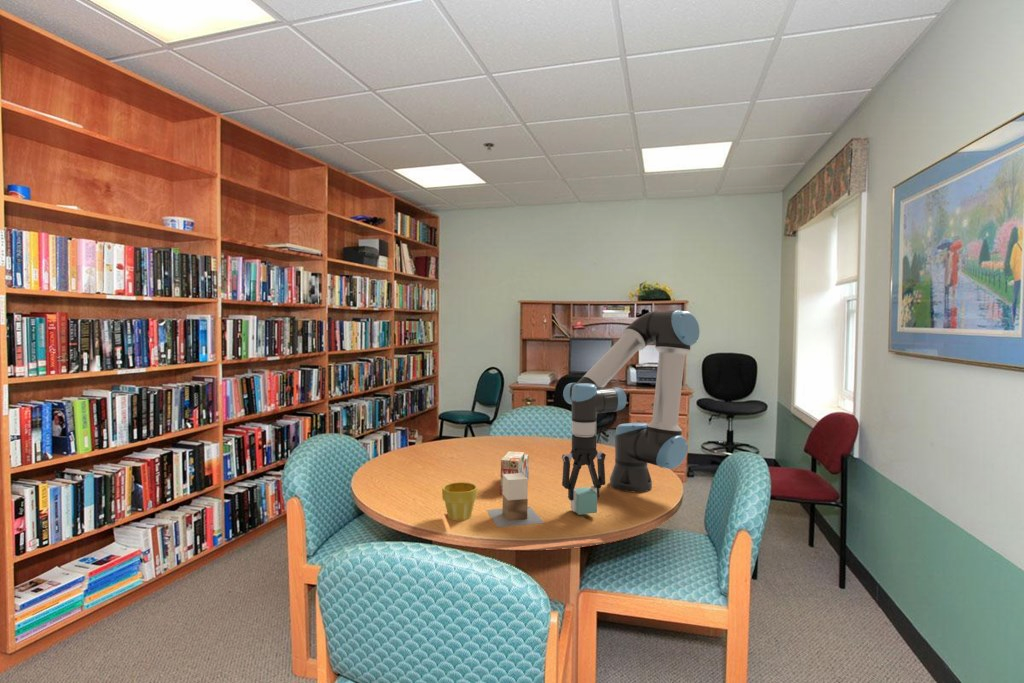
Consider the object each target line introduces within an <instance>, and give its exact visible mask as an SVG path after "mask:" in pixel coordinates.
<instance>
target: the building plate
mask: <svg viewBox="0 0 1024 683" xmlns="http://www.w3.org/2000/svg"><path fill="white" fill-rule="evenodd" d="M486 512H487V513H488V515H489V516H490V518H491V519H492V521H493V523H494V524H495V525H496V527H497V528H508V527H516V526H517V527H518V526H527V525H528V526H529V525H538V524H539V525H540V524H545V521H544V520H542V518H541V517H540V516H539V515H538V514H537V512H536V511H534V509H533V508H532V507H531V506H528V508H527V519H523V520H511V521H507V519H506V518H505V516H504V515H503V514H502V508H494V509H486Z"/></svg>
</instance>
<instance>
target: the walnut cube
mask: <svg viewBox="0 0 1024 683" xmlns="http://www.w3.org/2000/svg"><path fill="white" fill-rule="evenodd" d="M528 500H529V499H528V498H527V499H520V500H507V499H506V498H505V496H504V495H503V494H502V508H501V509H502V514H503V515H504V516H505V518H506V519H507V521H511V520H523V519H527V508H528V507H529V506H528V505H529V504H528V502H529V501H528Z"/></svg>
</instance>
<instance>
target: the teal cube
mask: <svg viewBox="0 0 1024 683" xmlns="http://www.w3.org/2000/svg"><path fill="white" fill-rule="evenodd" d="M574 489H575V490H577V504H576V512H575V513H576V514H577V515H579V516H580V515H581V516H582V515H587V514H597V513H598V498H597V493H596V492H595V491H593V490H592V489H591V487H589V486H586V487H585V486H584V487H575V488H574Z"/></svg>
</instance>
